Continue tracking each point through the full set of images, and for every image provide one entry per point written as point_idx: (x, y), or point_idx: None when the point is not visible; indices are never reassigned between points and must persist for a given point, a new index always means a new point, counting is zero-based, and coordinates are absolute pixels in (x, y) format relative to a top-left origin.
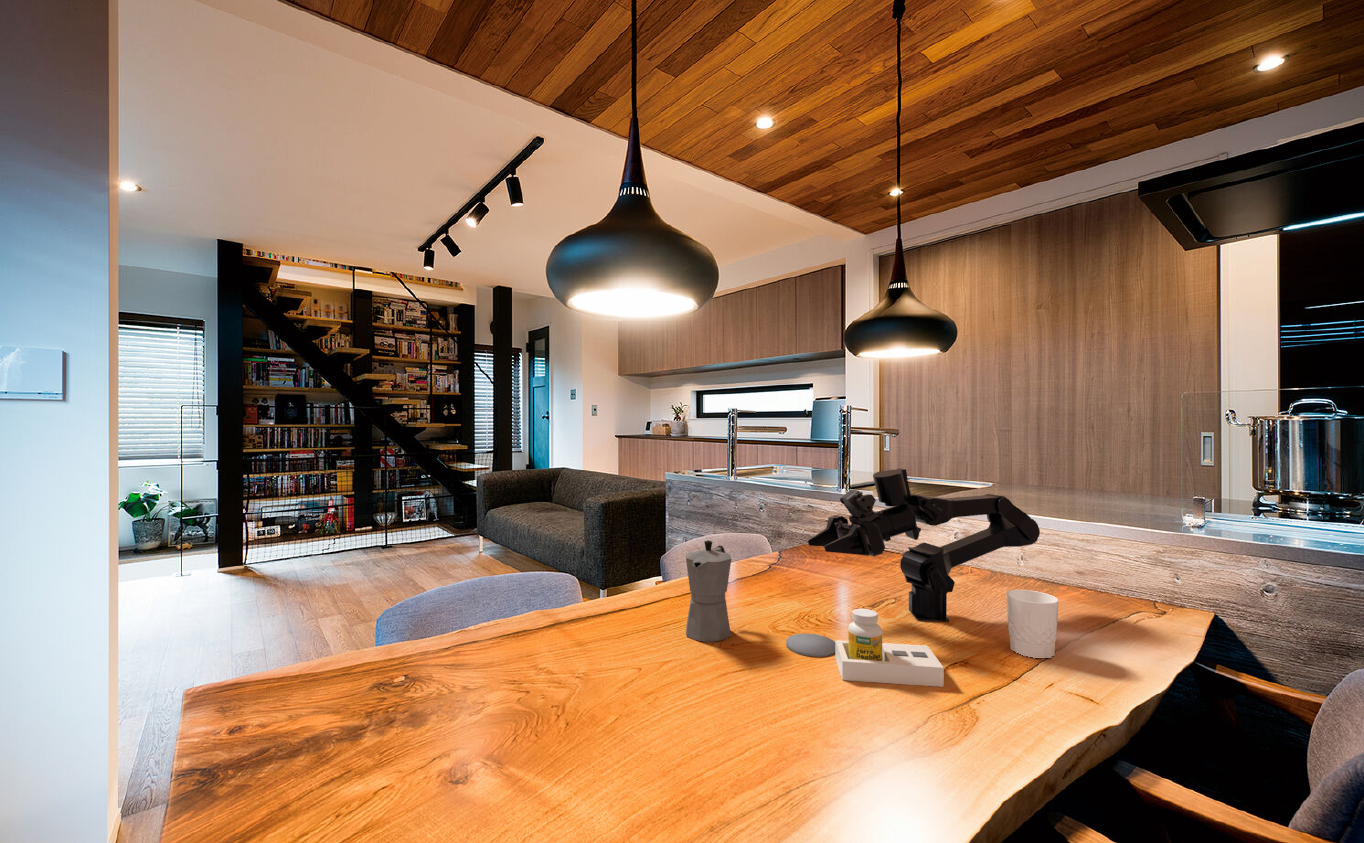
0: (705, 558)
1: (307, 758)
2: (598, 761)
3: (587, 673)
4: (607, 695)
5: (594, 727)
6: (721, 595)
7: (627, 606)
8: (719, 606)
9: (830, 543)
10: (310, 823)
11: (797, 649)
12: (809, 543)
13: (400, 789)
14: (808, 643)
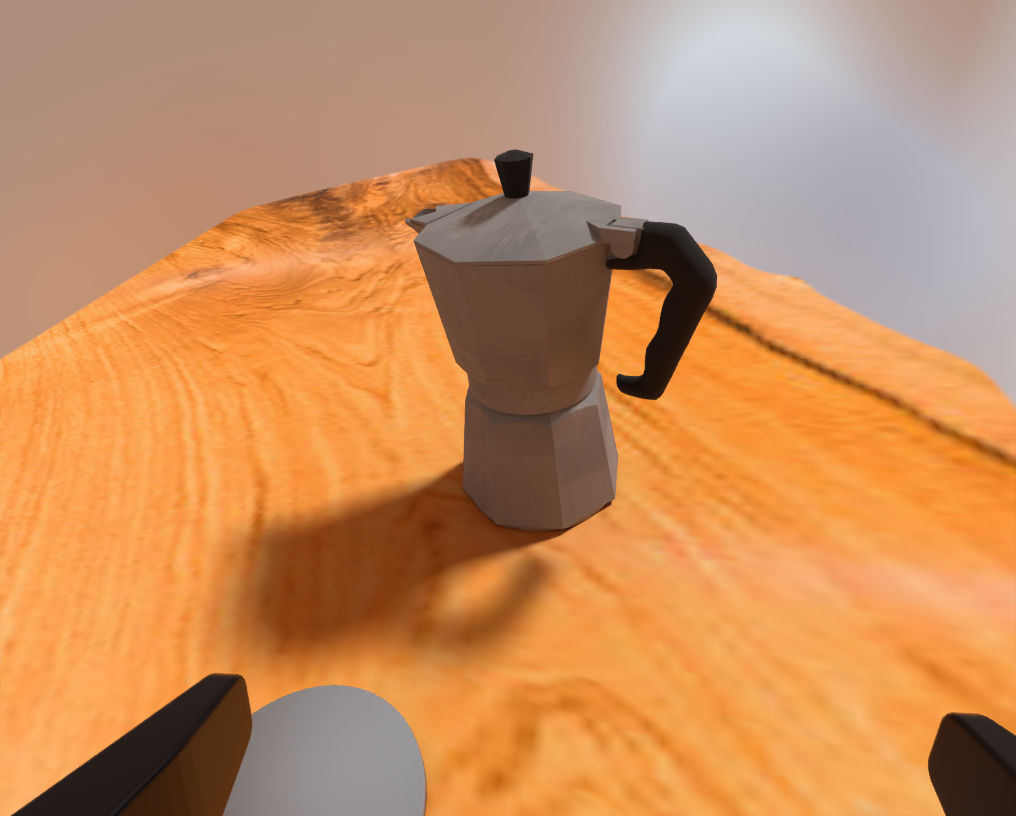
0: (450, 212)
1: (305, 214)
2: (128, 343)
3: (385, 315)
4: (292, 338)
5: (209, 334)
6: (476, 382)
7: (774, 333)
8: (473, 409)
9: (141, 735)
10: (204, 237)
11: (268, 709)
12: (938, 753)
13: (211, 255)
14: (298, 786)
